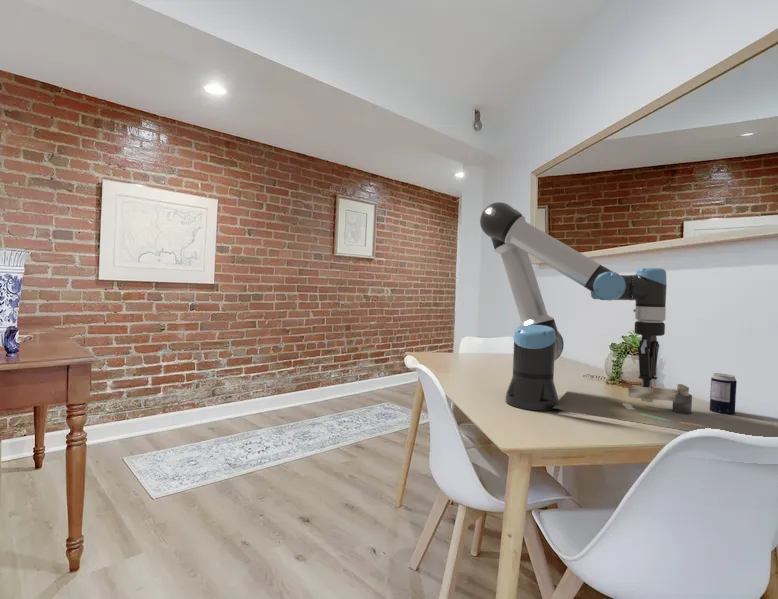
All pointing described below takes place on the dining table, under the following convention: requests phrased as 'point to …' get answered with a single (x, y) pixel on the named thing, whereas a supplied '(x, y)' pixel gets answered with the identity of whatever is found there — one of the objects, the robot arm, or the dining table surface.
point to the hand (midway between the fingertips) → (646, 401)
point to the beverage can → (723, 394)
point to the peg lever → (664, 396)
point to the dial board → (657, 418)
